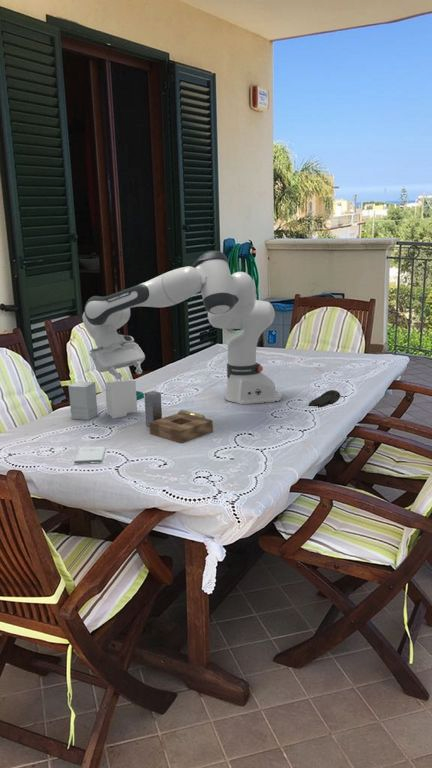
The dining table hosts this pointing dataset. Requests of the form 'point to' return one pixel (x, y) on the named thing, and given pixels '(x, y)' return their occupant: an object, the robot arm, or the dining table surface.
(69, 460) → the dining table surface
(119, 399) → the corner bracket
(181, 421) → the socket block
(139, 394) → the digital multimeter
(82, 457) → the external hard drive
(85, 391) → the supplement box
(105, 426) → the dining table surface
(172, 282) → the robot arm
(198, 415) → the round bit
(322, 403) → the dark elongated pod
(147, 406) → the square bit
